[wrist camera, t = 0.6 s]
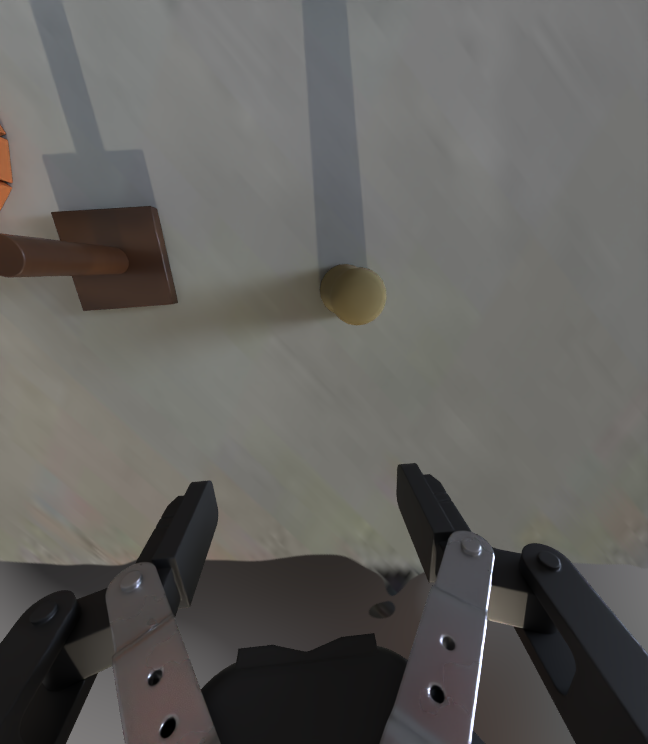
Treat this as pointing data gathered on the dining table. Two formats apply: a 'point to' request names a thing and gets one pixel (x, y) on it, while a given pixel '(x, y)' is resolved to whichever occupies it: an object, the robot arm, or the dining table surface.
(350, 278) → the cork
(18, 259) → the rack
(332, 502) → the dining table surface
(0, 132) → the hoop
